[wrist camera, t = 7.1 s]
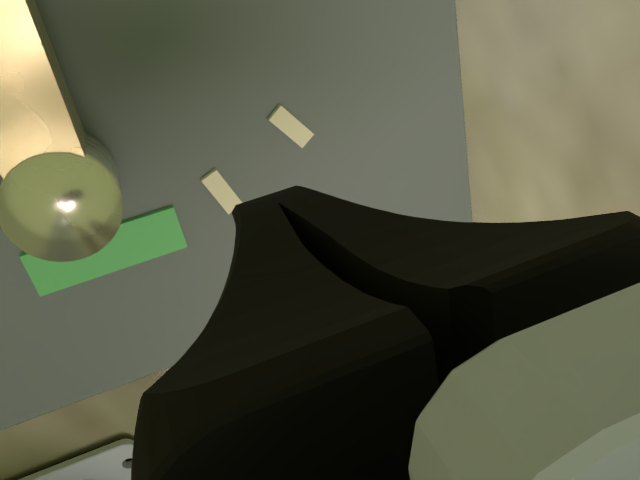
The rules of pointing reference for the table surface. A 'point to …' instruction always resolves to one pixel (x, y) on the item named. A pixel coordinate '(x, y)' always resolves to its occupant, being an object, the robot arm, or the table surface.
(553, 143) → the table surface
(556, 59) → the table surface
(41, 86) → the brass lever
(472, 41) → the table surface
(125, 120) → the dial plate
